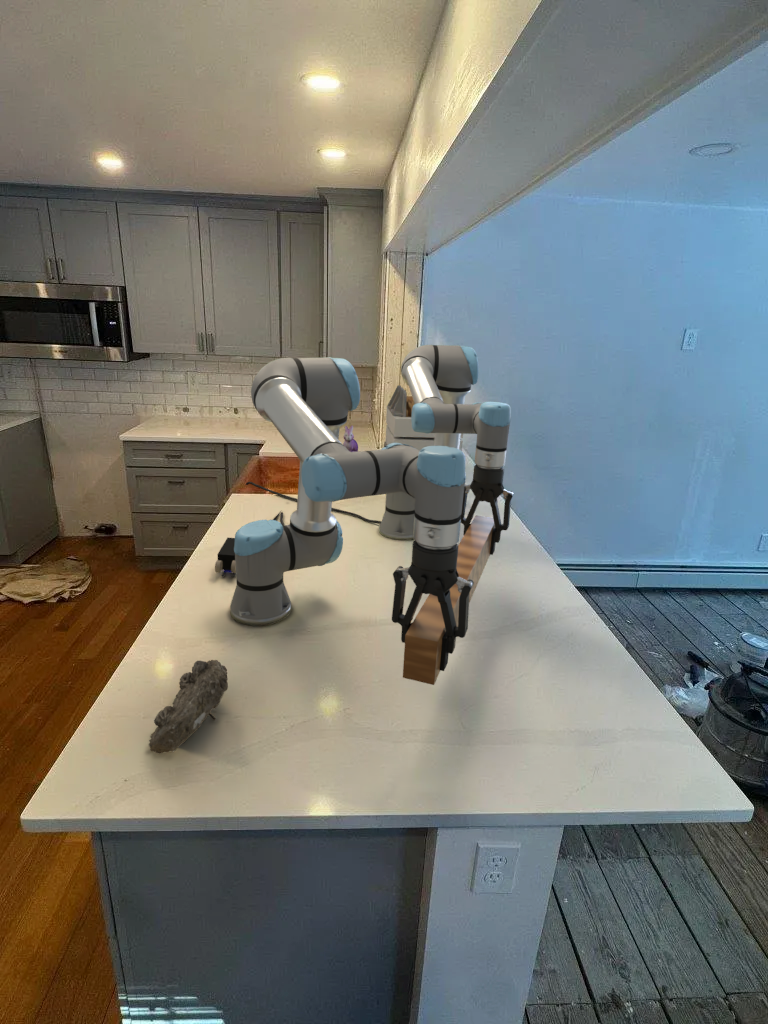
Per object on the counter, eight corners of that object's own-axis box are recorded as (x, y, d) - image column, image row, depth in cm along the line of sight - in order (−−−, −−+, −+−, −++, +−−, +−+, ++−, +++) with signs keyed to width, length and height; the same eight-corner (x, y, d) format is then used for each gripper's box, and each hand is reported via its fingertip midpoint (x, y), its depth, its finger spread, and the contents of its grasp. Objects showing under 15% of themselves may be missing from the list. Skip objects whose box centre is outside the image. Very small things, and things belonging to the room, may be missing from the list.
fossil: (177, 661, 117) (228, 629, 112) (210, 691, 120) (261, 661, 115) (124, 747, 97) (183, 713, 92) (164, 781, 100) (223, 749, 95)
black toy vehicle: (238, 584, 162) (249, 557, 175) (236, 562, 158) (247, 536, 172) (215, 584, 161) (227, 556, 175) (212, 561, 158) (225, 535, 171)
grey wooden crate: (382, 463, 289) (386, 382, 275) (445, 464, 293) (451, 384, 279) (390, 482, 257) (394, 392, 243) (460, 483, 261) (468, 394, 247)
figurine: (346, 456, 299) (346, 428, 294) (338, 451, 308) (338, 424, 302) (362, 454, 303) (363, 427, 298) (354, 450, 312) (354, 423, 307)
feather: (288, 505, 226) (290, 501, 226) (271, 529, 199) (273, 524, 199) (284, 503, 226) (287, 499, 225) (266, 526, 199) (269, 522, 199)
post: (472, 544, 155) (475, 515, 152) (493, 547, 153) (496, 518, 150) (402, 677, 97) (405, 634, 94) (434, 685, 95) (437, 641, 93)
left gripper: (374, 540, 92) (369, 661, 100) (488, 560, 87) (473, 687, 94) (389, 525, 99) (384, 639, 107) (496, 543, 93) (482, 663, 101)
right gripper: (449, 464, 141) (442, 549, 149) (525, 474, 135) (513, 562, 143) (456, 457, 148) (449, 539, 156) (529, 466, 142) (517, 551, 150)
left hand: (426, 662), depth 101 cm, fingers closed on post, 6 cm apart
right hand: (480, 550), depth 149 cm, fingers closed on post, 6 cm apart
